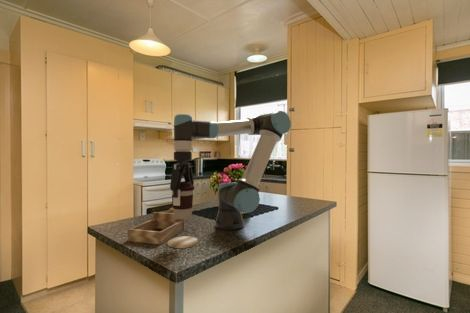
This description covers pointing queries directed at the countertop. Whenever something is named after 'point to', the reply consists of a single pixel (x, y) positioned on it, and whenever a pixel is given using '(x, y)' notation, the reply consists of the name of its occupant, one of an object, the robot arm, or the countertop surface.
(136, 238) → the open wooden box
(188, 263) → the countertop surface
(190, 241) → the disc
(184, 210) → the coffee cup
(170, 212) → the bread roll
